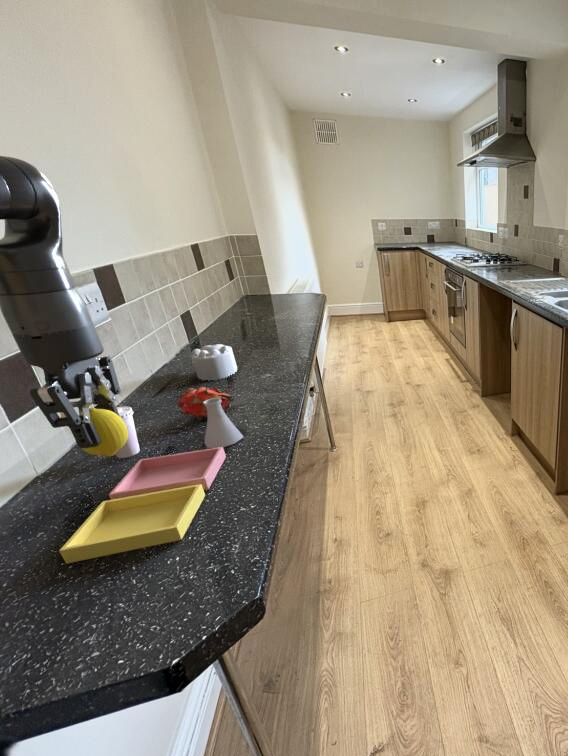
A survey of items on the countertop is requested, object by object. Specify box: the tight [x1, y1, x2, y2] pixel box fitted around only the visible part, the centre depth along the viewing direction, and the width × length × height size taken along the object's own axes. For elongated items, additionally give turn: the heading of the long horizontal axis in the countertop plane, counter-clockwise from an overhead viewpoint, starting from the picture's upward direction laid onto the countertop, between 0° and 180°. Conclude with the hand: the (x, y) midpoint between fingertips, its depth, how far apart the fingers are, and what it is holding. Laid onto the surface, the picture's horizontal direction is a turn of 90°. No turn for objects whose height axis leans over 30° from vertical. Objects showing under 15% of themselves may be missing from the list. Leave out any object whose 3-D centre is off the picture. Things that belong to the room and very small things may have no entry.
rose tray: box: [108, 447, 227, 500], centre depth 78 cm, size 14×12×2 cm
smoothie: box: [114, 406, 141, 459], centre depth 85 cm, size 6×6×14 cm
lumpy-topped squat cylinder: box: [190, 343, 238, 382], centre depth 130 cm, size 10×13×9 cm
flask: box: [203, 398, 244, 449], centre depth 90 cm, size 7×7×10 cm
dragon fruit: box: [176, 386, 235, 421], centre depth 102 cm, size 8×8×12 cm
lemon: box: [81, 407, 128, 457], centre depth 60 cm, size 6×6×8 cm
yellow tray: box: [58, 484, 206, 565], centre depth 66 cm, size 14×12×2 cm
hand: (102, 435), depth 61 cm, fingers closed on lemon, 5 cm apart
